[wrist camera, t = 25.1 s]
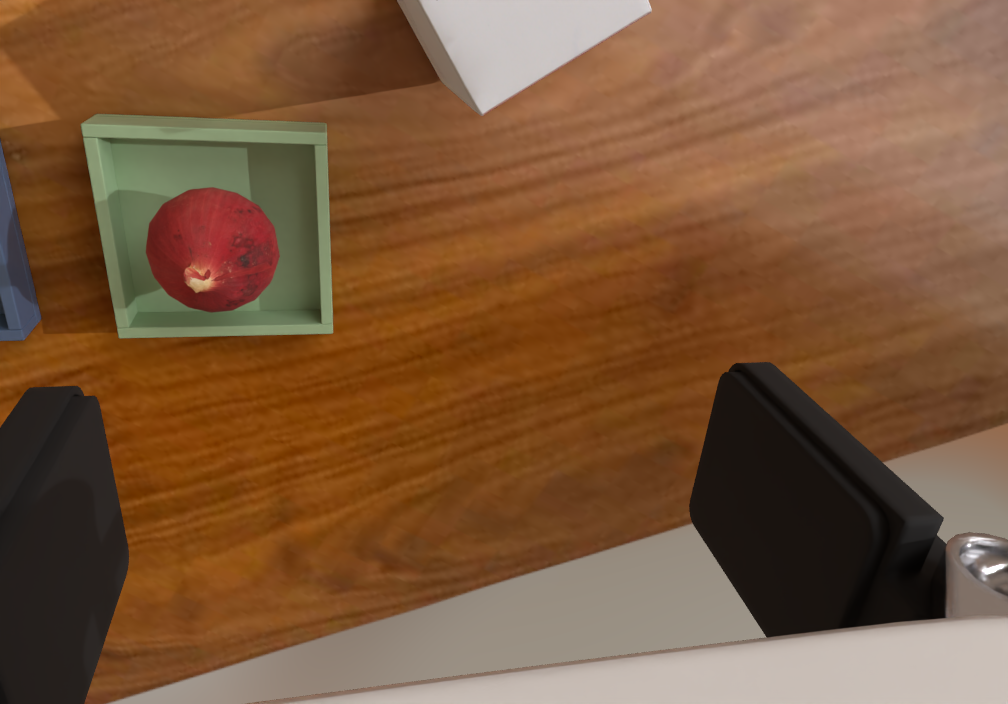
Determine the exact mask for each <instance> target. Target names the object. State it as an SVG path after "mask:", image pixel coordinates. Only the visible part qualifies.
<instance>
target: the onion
mask: <svg viewBox="0 0 1008 704" xmlns="http://www.w3.org/2000/svg"><path fill="white" fill-rule="evenodd" d="M146 255H147V258H148V261H149V264H150V267H151V271H152V274H153V276H154V278H155V279H156V280H157V281H158V283H159V284H160V285H161V286H162V288H163V289H164V290H165V291H166V293H167V294H168V295H169V296H171V297H172V298H174V299H176V300H177V301H179V302H180V303H182V304H184V305H185V306H187V307H189V308H193V309H197V310H202V311H206V312H210V313H213V312H223V311H232V310H235V309H237V308H239V307H241V306H243V305H245V304H247V303H249V302H252V301H254V300H256V298H257V297H258V296H259V295H260V294H261V293H262V292H263V291H264V290H265V289H266V287H267V286H268V285H269V284H270V283H271V281H272V279H273V276H274V273H275V270H276V267H277V264H278V261H279V257H280V254H279V248H278V243H277V237H276V232H275V228H274V225H273V224H272V223H271V221H270V220H269V219H268V217H267V216H266V215H265V213H264V212H263V210H262V209H261V208H260V206H259V205H257V204H255V203H253V202H252V201H250V200H248V199H247V198H245V197H243V196H241V195H240V194H238V193H235V192H231V191H227V190H223V189H219V188H215V187H209V188H200V189H191V190H188V191H186V192H184V193H182V194H180V195H178V196H176V197H175V198H173V199H171V200H169V201H167V202H165V203H164V204H162V206H161V207H160V209H159V210H158V212H157V213H156V214H155V216H154V217H153V219H152V220H151V222H150V223H149V228H148V236H147V244H146Z"/></svg>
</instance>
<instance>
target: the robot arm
mask: <svg viewBox="0 0 1008 704" xmlns="http://www.w3.org/2000/svg"><path fill="white" fill-rule="evenodd" d="M689 507H690V517H691V520H692V523H693V525H694V526H695V528H696V529H697V531H698V533H699V534H700V536H701V537H702V538H703V540H704V542H705V543H706V544H707V546H708V548H709V549H710V551H711V552H712V554H713V556H714V557H715V558H716V560H717V562H718V563H719V565H720V566H721V568H722V569H723V571H724V572H725V574H726V575H727V577H728V579H729V580H730V582H731V583H732V585H733V586H734V588H735V589H736V591H737V592H738V594H739V595H740V597H741V598H742V600H743V602H744V603H745V605H746V606H747V608H748V609H749V611H750V612H751V614H752V615H753V617H754V619H755V620H756V622H757V623H758V625H759V626H760V628H761V629H762V631H763V632H764V634H765V635H766V637H767V638H759V639H750V640H742V641H734V642H725V643H717V644H709V645H700V646H693V647H684V648H675V649H668V650H659V651H651V652H643V653H635V654H627V655H619V656H611V657H603V658H596V659H587V660H579V661H571V662H563V663H555V664H547V665H539V666H531V667H523V668H515V669H507V670H500V671H492V672H484V673H476V674H469V675H460V676H453V677H445V678H437V679H430V680H421V681H414V682H406V683H399V684H391V685H384V686H376V687H368V688H361V689H353V690H346V691H338V692H330V693H323V694H315V695H309V696H300V697H292V698H286V699H277V700H270V701H263V702H255V703H247V704H1008V540H1007V539H1005V538H1001V537H997V536H993V535H989V534H984V533H970V532H969V533H963V534H958V535H955V536H954V537H953V538H951V539H950V540H949V541H948V542H947V544H946V543H945V542H944V541H943V540H941V539H940V538H939V537H938V536H937V533H938V531H939V528H940V526H941V524H942V522H943V519H944V518H943V517H942V516H941V515H940V514H939V513H938V512H937V511H936V510H934V509H933V508H932V507H931V506H930V505H929V504H928V503H927V502H925V501H924V500H923V499H922V498H921V497H920V496H919V495H918V494H917V493H916V492H914V491H913V490H912V489H911V488H910V487H909V486H908V485H906V484H905V483H904V482H903V481H902V480H901V479H900V478H899V477H898V476H897V475H895V474H894V473H893V472H892V471H891V470H890V469H889V468H888V467H887V466H886V465H884V464H883V463H882V462H881V461H880V460H879V459H878V458H877V457H876V456H874V455H873V454H872V453H871V452H870V451H869V450H868V449H867V448H866V447H864V446H863V445H862V444H861V443H860V442H859V441H858V440H857V439H856V438H855V437H853V436H852V435H851V434H850V433H849V432H848V431H847V430H846V429H845V428H843V427H842V426H841V425H840V424H839V423H838V422H837V421H836V420H835V419H833V418H832V417H831V416H830V415H829V414H828V413H827V412H826V411H825V410H823V409H822V408H821V407H820V406H819V405H818V404H817V403H816V402H815V401H813V400H812V399H811V398H810V397H809V396H808V395H807V394H806V393H805V392H803V391H802V390H801V389H800V388H799V387H798V386H797V385H796V384H795V383H793V382H792V381H791V380H790V379H789V378H788V377H787V376H786V375H785V374H783V373H782V372H781V371H780V370H779V369H778V368H777V367H776V366H775V365H773V364H771V363H770V362H760V363H736V364H734V365H732V367H731V368H730V369H729V372H725V373H724V374H722V376H721V377H720V380H719V383H718V387H717V391H716V395H715V399H714V404H713V408H712V412H711V416H710V420H709V424H708V429H707V433H706V437H705V441H704V445H703V449H702V454H701V458H700V462H699V466H698V470H697V474H696V478H695V483H694V487H693V491H692V495H691V499H690V505H689ZM128 563H129V550H128V543H127V538H126V533H125V528H124V523H123V519H122V514H121V509H120V504H119V499H118V494H117V489H116V484H115V479H114V474H113V469H112V464H111V459H110V454H109V449H108V444H107V439H106V434H105V429H104V424H103V419H102V414H101V409H100V405H99V402H98V400H97V398H96V397H95V396H84V394H83V392H82V390H81V388H79V387H78V386H62V387H33V388H29V389H28V390H27V391H26V392H25V393H24V395H23V396H22V398H21V399H20V400H19V402H18V403H17V405H16V406H15V408H14V409H13V410H12V412H11V413H10V415H9V416H8V417H7V419H6V420H5V422H4V423H3V425H2V426H1V427H0V704H84V702H85V699H86V696H87V693H88V690H89V687H90V684H91V681H92V678H93V675H94V672H95V669H96V666H97V663H98V660H99V657H100V654H101V651H102V648H103V644H104V641H105V638H106V635H107V632H108V629H109V626H110V623H111V620H112V617H113V614H114V611H115V608H116V605H117V602H118V599H119V596H120V593H121V590H122V587H123V584H124V581H125V578H126V574H127V570H128Z"/></svg>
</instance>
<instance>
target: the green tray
mask: <svg viewBox="0 0 1008 704" xmlns="http://www.w3.org/2000/svg"><path fill="white" fill-rule="evenodd" d="M81 130H82V136H83V137H84V138H83V141H84V147H85V152H86V158H87V164H88V169H89V175H90V180H91V186H92V192H93V197H94V203H95V208H96V214H97V219H98V225H99V231H100V236H101V242H102V247H103V253H104V259H105V264H106V270H107V275H108V281H109V286H110V292H111V298H112V303H113V309H114V314H115V320H116V325H117V331H118V337H119V338H158V337H204V336H250V335H296V334H332V333H333V308H332V276H331V245H330V213H329V181H328V150H327V124H326V123H318V122H293V121H268V120H242V119H217V118H192V117H167V116H142V115H116V114H95V115H94V116H92V117H91V118H89V119H88V120H86V121H85V122H83V123H82V124H81ZM209 187H215V188H219V189H223V190H227V191H231V192H235V193H238V194H240V195H241V196H243V197H245V198H247V199H248V200H250V201H252V202H253V203H255V204H257V205H259V206H260V208H261V209H262V210H263V212H264V213H265V215H266V216H267V217H268V219H269V220H270V221H271V223H272V224H273V225H274V228H275V232H276V237H277V243H278V248H279V254H280V257H279V261H278V264H277V267H276V270H275V273H274V276H273V279H272V281H271V283H270V284H269V285H268V286H267V287H266V289H265V290H264V291H263V292H262V293H261V294H260V295H259V296H258V297H257V298H256V300H254V301H252V302H249V303H247V304H245V305H243V306H241V307H239V308H237V309H235V310H232V311H223V312H213V313H210V312H206V311H202V310H197V309H193V308H189V307H187V306H185V305H184V304H182V303H180V302H179V301H177V300H176V299H174V298H172V297H171V296H169V295H168V294H167V293H166V291H165V290H164V289H163V288H162V286H161V285H160V284H159V283H158V281H157V280H156V279H155V278H154V276H153V274H152V271H151V267H150V264H149V261H148V258H147V255H146V244H147V236H148V228H149V223H150V222H151V220H152V219H153V217H154V216H155V214H156V213H157V212H158V210H159V209H160V207H161V206H162V204H164V203H165V202H167V201H169V200H171V199H173V198H175V197H176V196H178V195H180V194H182V193H184V192H186V191H188V190H191V189H200V188H209Z"/></svg>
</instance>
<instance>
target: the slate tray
mask: <svg viewBox="0 0 1008 704" xmlns="http://www.w3.org/2000/svg"><path fill="white" fill-rule="evenodd" d="M40 320H41V315H40V311H39V306H38V302H37V298H36V293H35V289H34V285H33V280H32V276H31V272H30V267H29V263H28V258H27V254H26V250H25V245H24V241H23V237H22V232H21V228H20V224H19V219H18V215H17V210H16V206H15V202H14V197H13V193H12V189H11V184H10V180H9V176H8V171H7V167H6V163H5V158H4V154H3V149H2V145H1V141H0V341H19V340H25V339H26V337H27V336H28V335H29V334H30V332H31V331H32V330H33V329H34V327H35V326H36V325H37V323H38V322H39V321H40Z"/></svg>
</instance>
